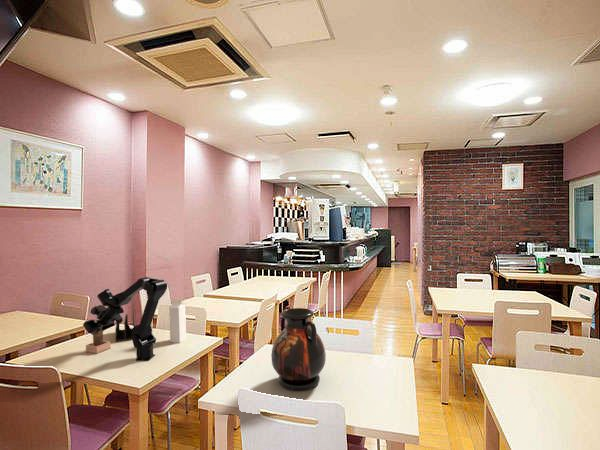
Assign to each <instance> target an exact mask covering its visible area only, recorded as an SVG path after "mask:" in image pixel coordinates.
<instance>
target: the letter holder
mask: <svg viewBox="0 0 600 450" xmlns="http://www.w3.org/2000/svg"><path fill="white" fill-rule="evenodd" d="M136 315H137V314H136V308H135V307H134V308H133V311H132V324H133V325H132V326H133V328H134V326H136V325H137V316H136ZM123 321H124V329H120V324H116V323H115V329H114V331H115V337H114V338H115V343H120V342H126V341H127V342H129V341H132V334H131V333H132V331H133V328H131V327H130V325H129V321H128V313H126V314H125V317H124V320H123Z"/></svg>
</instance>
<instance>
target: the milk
mask: <svg viewBox="0 0 600 450" xmlns="http://www.w3.org/2000/svg"><path fill="white" fill-rule="evenodd" d="M168 309H169V337H170V339H169V340H170V343H177V344H181V343H182V342H184V341H186V340H187V319H186V318H187V317H186V316H187V315H186V304H184V303H183V301H182V300H179V299H178V300H177V299H173V300H172V303H170V306H168Z"/></svg>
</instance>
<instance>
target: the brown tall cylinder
mask: <svg viewBox="0 0 600 450" xmlns="http://www.w3.org/2000/svg"><path fill="white" fill-rule="evenodd" d="M92 320H94V321H95V323H96V322H97V320H99V319H97V318H94V319H92ZM99 329H100V331H99V332H97V333H95V334H93V335H92V343H93V346H99V345H102V344H103V341H104V331H103V326H101V327H100V328H99Z"/></svg>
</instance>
